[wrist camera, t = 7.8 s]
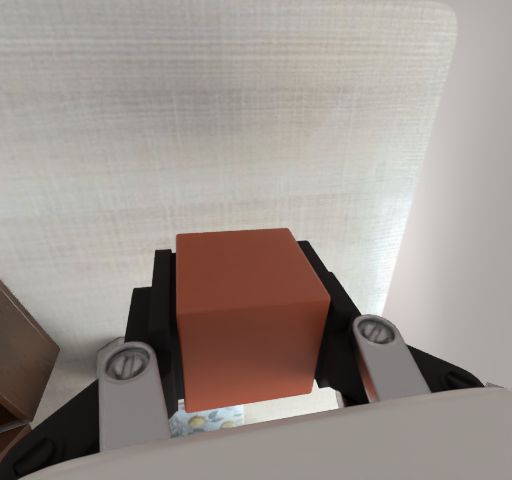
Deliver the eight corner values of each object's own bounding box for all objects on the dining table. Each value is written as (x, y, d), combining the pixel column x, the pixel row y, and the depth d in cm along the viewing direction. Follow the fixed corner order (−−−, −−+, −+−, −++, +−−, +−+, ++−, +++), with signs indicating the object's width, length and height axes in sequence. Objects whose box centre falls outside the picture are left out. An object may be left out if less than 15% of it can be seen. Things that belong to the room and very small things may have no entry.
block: (182, 320, 13) (185, 415, 10) (175, 232, 11) (175, 313, 8) (279, 310, 14) (312, 394, 11) (288, 226, 12) (332, 297, 9)
